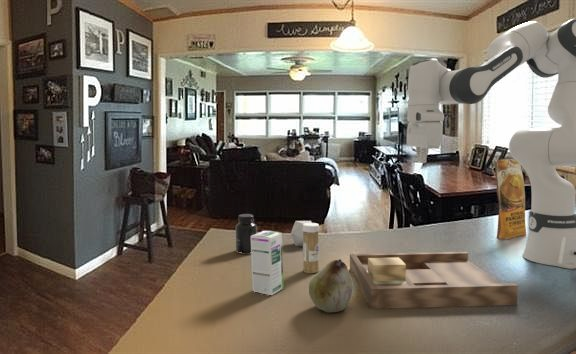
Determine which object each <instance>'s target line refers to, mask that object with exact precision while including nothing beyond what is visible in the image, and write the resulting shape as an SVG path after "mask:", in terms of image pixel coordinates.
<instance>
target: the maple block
mask: <svg viewBox="0 0 576 354" xmlns="http://www.w3.org/2000/svg"><path fill="white" fill-rule="evenodd" d="M368 274H369V276H370V277H371V279H372V280H373V281H402V280H406V264H405V263H404V262H403V261H402V260H401V259H400V258H399V257H395V258H368Z"/></svg>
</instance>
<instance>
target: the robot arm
mask: <svg viewBox="0 0 576 354" xmlns="http://www.w3.org/2000/svg"><path fill="white" fill-rule="evenodd" d="M486 52H487V53H486V56H487V61H486V62H484V63H482V64H481V65H478V66H477V65H475V66H469V67H464V68H461V69H456V70H451V69H450V68H447V67H445V66H443V64H441V63H440V62H439V61H438V59H437V58H427V59H422V60H421V59H420V60H418V61H414V62H413V63H411V65H410V68H409V71H408V72H409V73H408V80H407V81H408V82H407V94H408V101H407V114H406V115H407V119H406V120H407V122H408V123H407V130H406V145H407V146H408V147H415V153H416V156H417V157H416V158H417V159H416V161H417V162H418V163H420V164H426V163H427V157H428V154H429V151H430V150H431V149H433V150H435V149H440V146H441V144H442V138H443V122H444V120H445V113H443V112H442V111H441V109H440V105H460V104H466V105H475V104H477V103H480V102H481V101H482V100H483V99H484V98H485V97H486V96H487V94H488V93H489V91H490V90H491V89H492V87H494V85H496V83H498V82H499V81H501V80H502V79H503V78H505V77H506V76H507V75H509V74H510V73H511V72H512V71H514V70H515V69H517V68H518V67H519V66H521V65H523V64H524V63H526V64H527V65H528V68H529V69H530V70H531V71H532V72H533V74H535V75H536V76H538V77H540V78H544V79H545V78H552V77H554V76H557V75H558V77H557V82H556V84H555V87H554V89H553V92H552V95H551V98H550V101H549V104H548V106H547V112H548V113H547V114H548V116H549V117H550V119H551V120H552V121H553V122H555V123H556V124H558V125H560V126H559V127H531V128H526V129H521V130H517V131H516V132H515V133H513V135H512V137H511V138H510V139H509V140H510V141H509V145H508V149H509V150H508V151H509V154H510V156H511V157H512V159H514V160H516V161H517V162H518V163H519V164H520V165H521V168H522V169H523V170H524V172H526V175H527V177H528V179H529V182H530V188H531V189H530V190H531V192H530V193H531V205H530V206H531V207H530V208H531V209H530V210H529V214H528V237H527V241H526V244H525V247H524V251H523V253H522V257H523V258H524V259H526V260H527V261H531V262H532V263H533V262H534V263H538V264H541V265H546V266H547V265H548V266H552V267H553V266H554V267H559V268H564V269H569V270H571V269H576V213H575V211H576V210H575V209H576V208H575V207H576V188H575V186H574V185H573V183H571V182H570V181H568V180H567V179H565V178H564V177H562V176H560V175H559V173H558V172H557V170H556V167H571V168H572V167H573V168H576V18H573V19H570V20H568V21H565V22H564V23H563V24H561V25H560V26H559V27H558V28H557V29H556V30H554V31H553V32H548V29H547V28H546V26H545V25H544V24H543V23H540V22H538V21H528V22H524V23H522V24H519V25H517V26H515V27H513V28H510V29H509V30H506V31H505V32H503V33H501V34H499V36H497V37H496V38H495V39H494V40H493V41H491V42H490V44H488V47H487V51H486ZM429 149H430V150H429Z"/></svg>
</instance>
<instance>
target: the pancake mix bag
mask: <svg viewBox="0 0 576 354" xmlns="http://www.w3.org/2000/svg"><path fill="white" fill-rule="evenodd" d="M522 169H523V167H522V166H521V165H520V164H519V163H518V162H517V161H516V160H514V159H513V158H502V159H497V161H496V162H495V167H494V172H495V180H496V195H497V200H498V215H497V216H498V218H497V229H496V238H497V239H499V240H500V239H501V240H510V239H514V238H515V239H516V238H519V237H524V236H526V235H527V227H526V192H525V191H526V190H525V180H524V174H523V170H522Z"/></svg>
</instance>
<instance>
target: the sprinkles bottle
mask: <svg viewBox="0 0 576 354" xmlns="http://www.w3.org/2000/svg"><path fill="white" fill-rule="evenodd" d="M302 230H303V246H302V265H303V269H302V271H303V272H304V273H306V274H317V273H318V272H319V271H320V268H319V260H320V256H319V255H320V254H319V253H320V252H319V251H320V248H319V247H320V245H319V232H320V225H319V223H316V222H312V223H305V224H303V228H302Z"/></svg>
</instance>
